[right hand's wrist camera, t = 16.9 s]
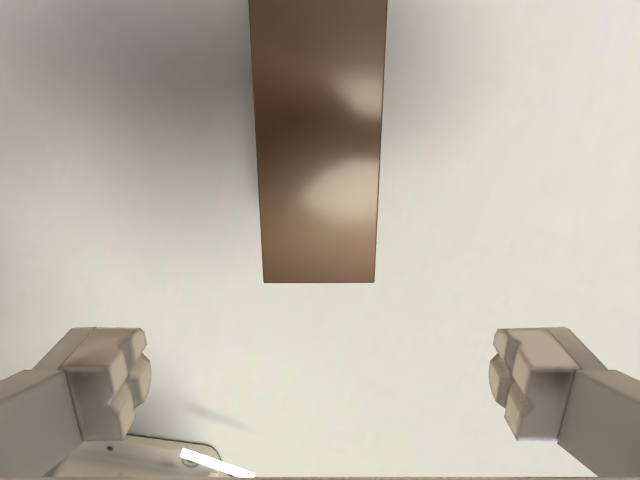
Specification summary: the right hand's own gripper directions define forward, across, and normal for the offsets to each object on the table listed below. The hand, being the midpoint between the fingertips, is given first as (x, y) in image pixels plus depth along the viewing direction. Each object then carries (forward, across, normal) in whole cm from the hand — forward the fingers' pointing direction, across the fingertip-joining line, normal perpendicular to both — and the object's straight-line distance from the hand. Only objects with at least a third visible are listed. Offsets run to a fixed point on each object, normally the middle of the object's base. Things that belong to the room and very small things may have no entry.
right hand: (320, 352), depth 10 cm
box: (+25, 0, -8) cm, 26 cm away
